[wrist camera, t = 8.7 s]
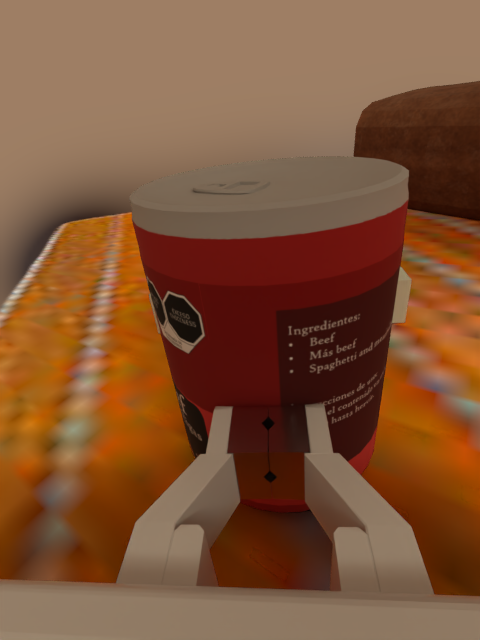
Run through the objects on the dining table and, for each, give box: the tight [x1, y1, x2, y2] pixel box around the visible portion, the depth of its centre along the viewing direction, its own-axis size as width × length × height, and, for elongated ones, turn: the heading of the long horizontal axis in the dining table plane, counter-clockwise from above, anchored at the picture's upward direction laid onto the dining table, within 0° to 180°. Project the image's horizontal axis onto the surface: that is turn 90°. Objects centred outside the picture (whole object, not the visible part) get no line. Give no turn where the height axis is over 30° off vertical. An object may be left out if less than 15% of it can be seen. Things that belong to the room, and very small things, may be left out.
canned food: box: [129, 156, 409, 513], centre depth 13 cm, size 8×8×11 cm
